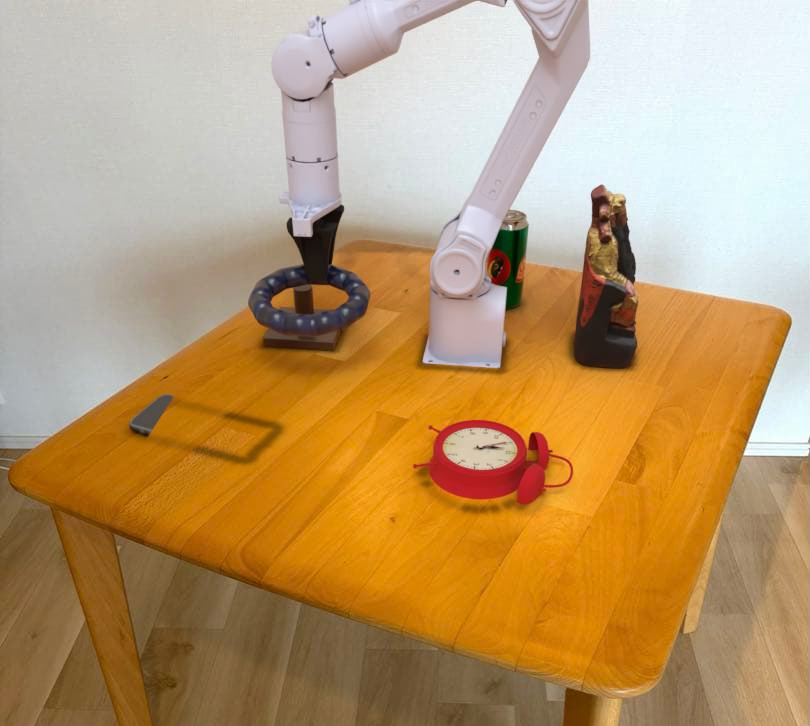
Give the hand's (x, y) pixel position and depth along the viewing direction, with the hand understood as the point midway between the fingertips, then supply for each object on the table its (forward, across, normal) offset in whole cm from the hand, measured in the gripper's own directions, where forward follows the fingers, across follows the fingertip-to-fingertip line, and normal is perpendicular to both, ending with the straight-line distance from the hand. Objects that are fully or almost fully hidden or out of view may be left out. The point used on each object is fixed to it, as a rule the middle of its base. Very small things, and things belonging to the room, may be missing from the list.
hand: (319, 273), depth 103 cm
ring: (+1, +6, 0) cm, 6 cm away
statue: (+9, -3, +35) cm, 36 cm away
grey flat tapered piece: (+9, +21, -9) cm, 25 cm away
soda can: (+9, -14, +22) cm, 28 cm away
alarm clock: (+9, +27, +23) cm, 36 cm away
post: (+9, -2, -3) cm, 10 cm away
